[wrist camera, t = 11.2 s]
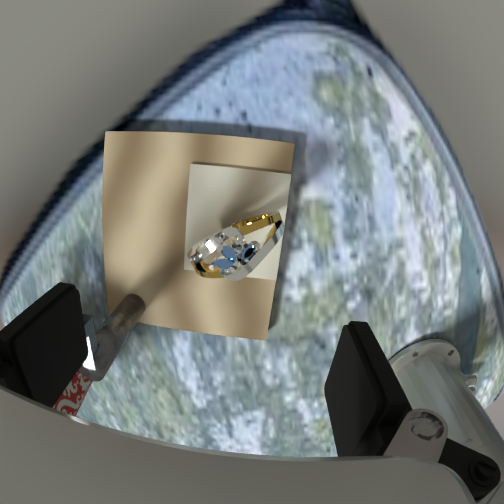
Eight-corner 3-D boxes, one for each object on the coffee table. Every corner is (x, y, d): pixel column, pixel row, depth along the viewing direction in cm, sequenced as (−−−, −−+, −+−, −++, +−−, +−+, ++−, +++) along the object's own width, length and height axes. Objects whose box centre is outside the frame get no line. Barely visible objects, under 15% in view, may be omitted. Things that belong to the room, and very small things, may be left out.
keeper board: (293, 143, 25) (295, 143, 23) (265, 331, 31) (266, 342, 29) (113, 131, 25) (104, 131, 23) (114, 310, 30) (107, 318, 29)
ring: (273, 192, 24) (279, 213, 17) (286, 229, 25) (297, 265, 18) (192, 222, 25) (164, 254, 18) (207, 256, 26) (187, 301, 19)
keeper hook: (144, 268, 27) (81, 343, 16) (146, 317, 29) (96, 402, 17) (120, 264, 27) (50, 334, 16) (123, 313, 29) (68, 393, 17)
